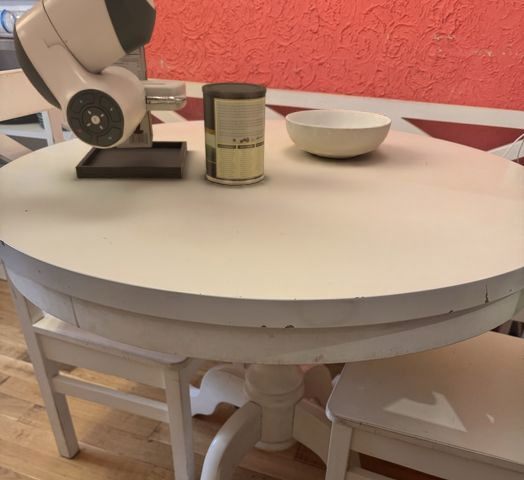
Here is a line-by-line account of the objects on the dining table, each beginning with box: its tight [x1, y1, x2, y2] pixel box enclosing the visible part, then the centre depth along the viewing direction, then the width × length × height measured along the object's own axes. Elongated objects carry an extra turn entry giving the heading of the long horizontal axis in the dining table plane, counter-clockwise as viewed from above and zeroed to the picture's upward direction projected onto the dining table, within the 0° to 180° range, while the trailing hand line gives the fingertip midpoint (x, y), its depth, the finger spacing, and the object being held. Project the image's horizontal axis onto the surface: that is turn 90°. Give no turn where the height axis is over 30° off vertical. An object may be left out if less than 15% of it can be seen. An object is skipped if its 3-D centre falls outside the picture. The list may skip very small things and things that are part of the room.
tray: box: [75, 140, 188, 179], centre depth 93 cm, size 18×20×2 cm
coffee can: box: [201, 81, 268, 186], centre depth 83 cm, size 10×10×14 cm
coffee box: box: [110, 45, 154, 148], centre depth 87 cm, size 9×6×16 cm
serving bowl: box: [285, 109, 392, 159], centre depth 101 cm, size 21×21×7 cm
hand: (129, 88), depth 87 cm, fingers closed on coffee box, 6 cm apart
